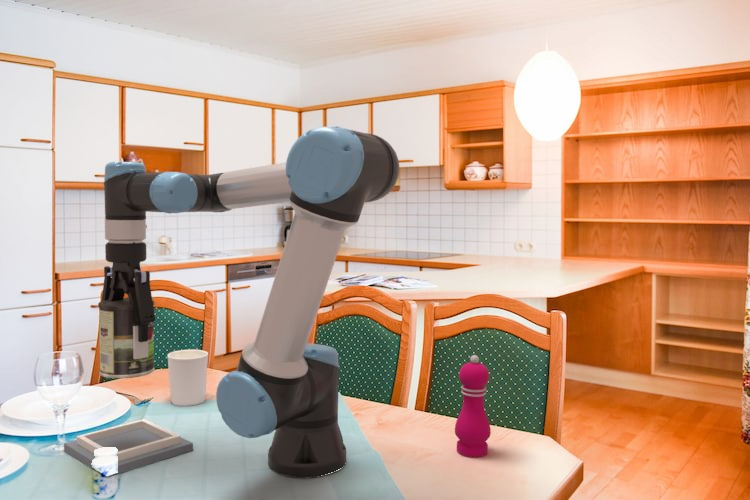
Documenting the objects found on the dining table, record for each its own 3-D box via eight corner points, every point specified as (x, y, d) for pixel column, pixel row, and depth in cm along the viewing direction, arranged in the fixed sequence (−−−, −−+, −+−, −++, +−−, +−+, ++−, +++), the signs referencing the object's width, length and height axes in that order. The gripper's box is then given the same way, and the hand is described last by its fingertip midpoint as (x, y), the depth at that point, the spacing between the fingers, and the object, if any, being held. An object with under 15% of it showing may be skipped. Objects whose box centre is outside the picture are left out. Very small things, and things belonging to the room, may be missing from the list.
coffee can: (164, 367, 134) (163, 299, 133) (136, 380, 124) (135, 307, 123) (119, 363, 136) (118, 296, 135) (87, 376, 126) (86, 304, 125)
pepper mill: (447, 447, 135) (450, 352, 134) (477, 443, 138) (480, 349, 136) (466, 460, 129) (468, 360, 127) (497, 455, 131) (499, 357, 130)
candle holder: (216, 399, 165) (216, 352, 164) (186, 409, 157) (186, 360, 156) (189, 393, 170) (189, 347, 170) (159, 402, 162) (158, 354, 161)
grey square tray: (193, 450, 132) (193, 435, 132) (106, 477, 118) (105, 461, 118) (147, 428, 144) (147, 415, 144) (64, 450, 130) (63, 436, 130)
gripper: (174, 244, 123) (174, 360, 125) (116, 237, 138) (118, 341, 140) (136, 245, 118) (137, 367, 119) (81, 239, 133) (83, 346, 134)
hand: (127, 353), depth 130 cm, fingers closed on coffee can, 10 cm apart
